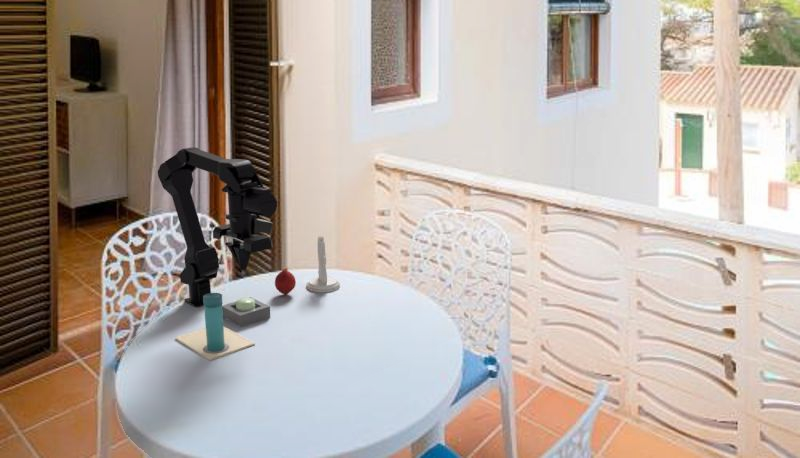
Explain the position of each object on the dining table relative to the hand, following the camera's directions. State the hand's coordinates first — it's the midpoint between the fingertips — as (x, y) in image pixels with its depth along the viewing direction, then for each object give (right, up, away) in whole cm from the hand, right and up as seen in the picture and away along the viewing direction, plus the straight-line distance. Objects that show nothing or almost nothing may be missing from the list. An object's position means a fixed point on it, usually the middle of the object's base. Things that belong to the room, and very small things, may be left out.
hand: (243, 269), depth 181 cm
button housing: (0, -12, +4) cm, 13 cm away
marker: (-3, -17, -16) cm, 24 cm away
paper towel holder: (+18, -7, +26) cm, 32 cm away
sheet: (-4, -17, -11) cm, 21 cm away
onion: (+8, -8, +19) cm, 22 cm away
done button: (0, -12, +3) cm, 12 cm away
